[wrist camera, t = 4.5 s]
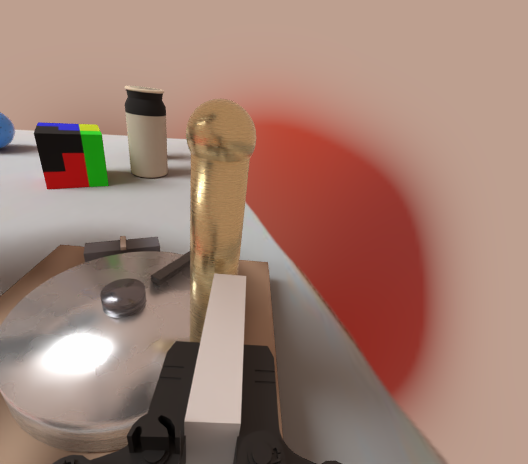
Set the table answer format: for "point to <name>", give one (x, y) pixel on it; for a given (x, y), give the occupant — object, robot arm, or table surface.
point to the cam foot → (127, 306)
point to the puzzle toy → (71, 155)
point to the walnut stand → (65, 257)
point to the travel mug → (146, 131)
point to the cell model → (6, 130)
